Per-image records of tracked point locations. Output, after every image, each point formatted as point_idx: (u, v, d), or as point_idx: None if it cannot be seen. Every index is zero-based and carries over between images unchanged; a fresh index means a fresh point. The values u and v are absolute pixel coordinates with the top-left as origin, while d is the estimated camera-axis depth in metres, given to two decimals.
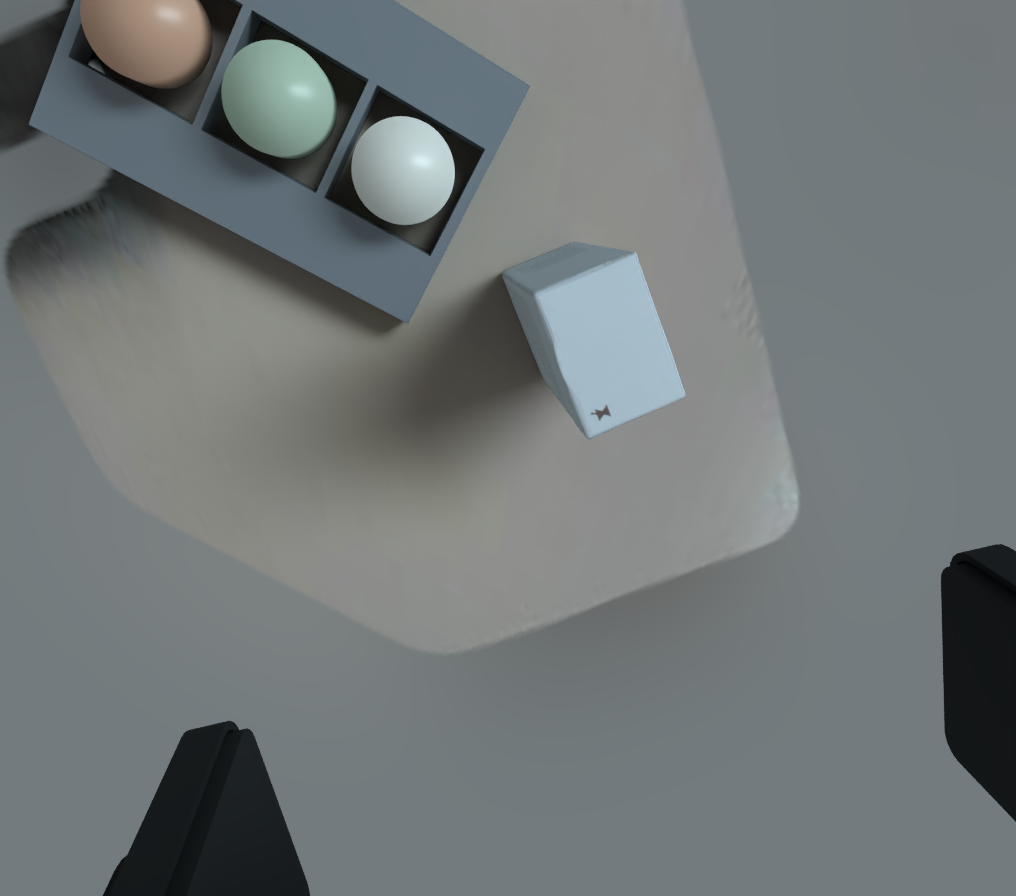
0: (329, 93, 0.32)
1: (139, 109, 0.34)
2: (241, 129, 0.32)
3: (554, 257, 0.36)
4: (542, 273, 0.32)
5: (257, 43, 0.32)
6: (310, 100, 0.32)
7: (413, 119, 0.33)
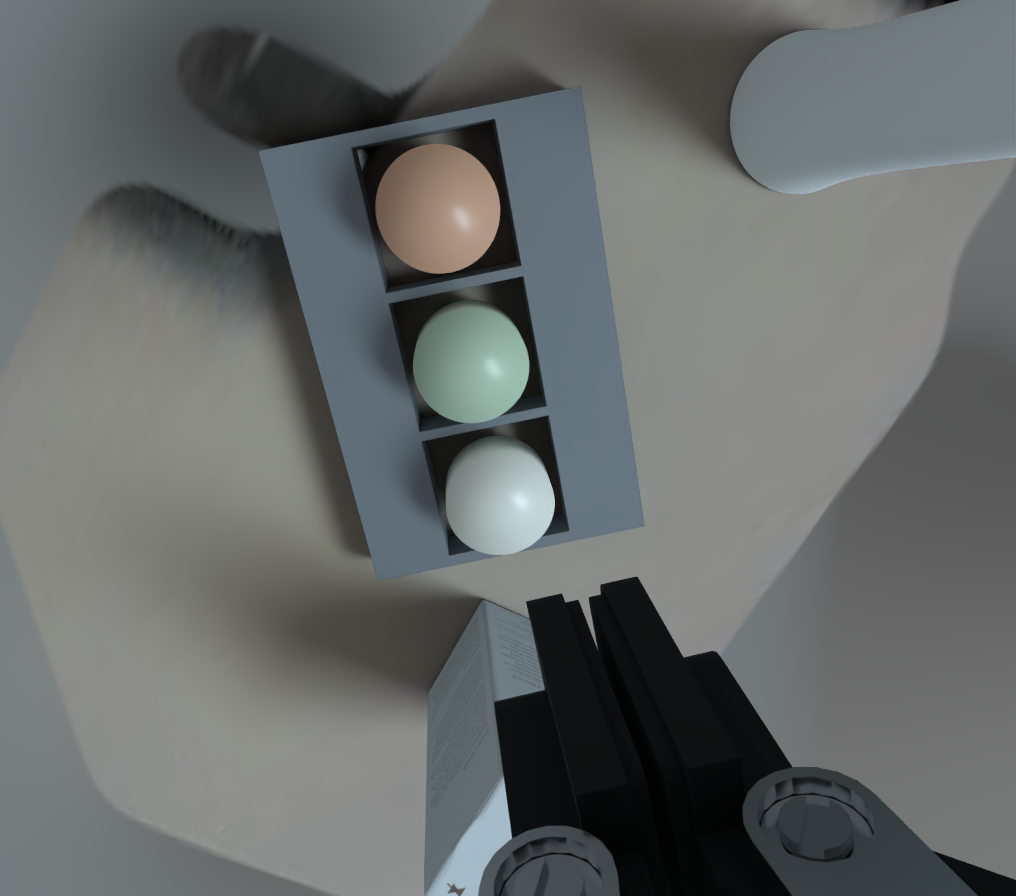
0: (512, 404, 0.30)
1: (359, 239, 0.30)
2: (420, 357, 0.29)
3: (533, 657, 0.34)
4: None
5: (503, 320, 0.29)
6: (493, 394, 0.30)
7: (548, 482, 0.31)
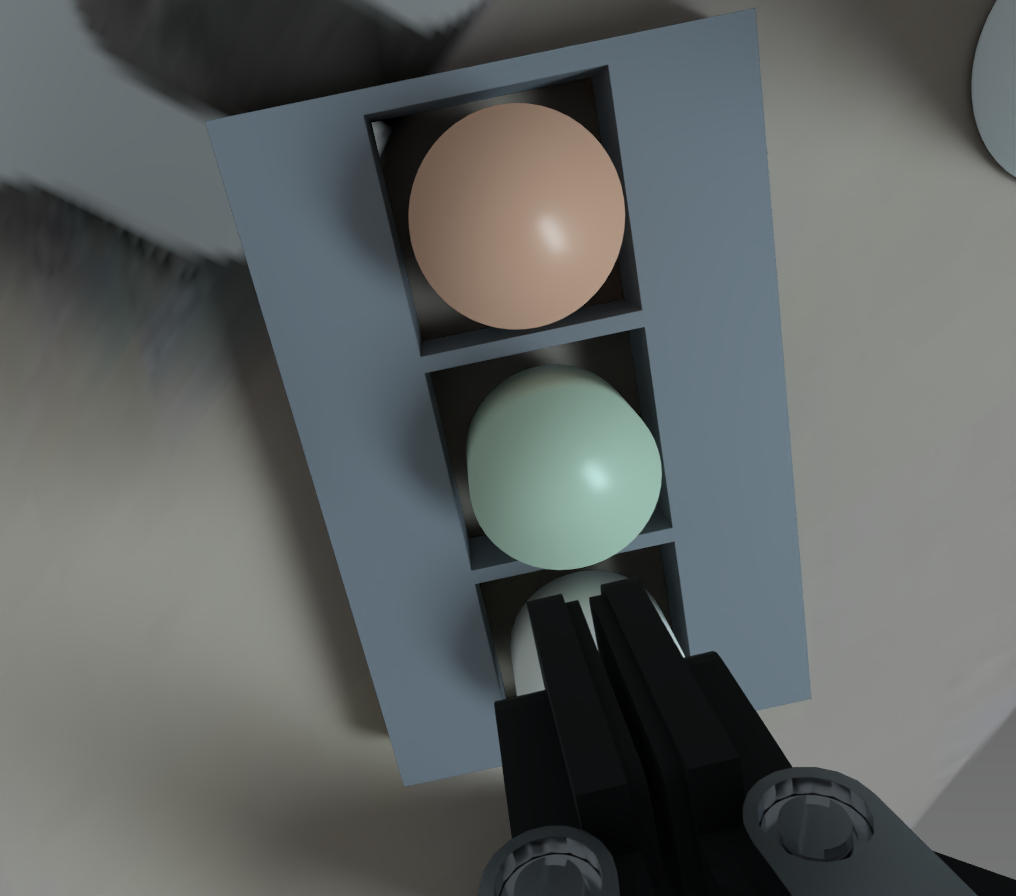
0: (630, 539, 0.18)
1: (377, 270, 0.18)
2: (482, 468, 0.17)
3: None
4: None
5: (621, 406, 0.17)
6: (600, 524, 0.18)
7: None
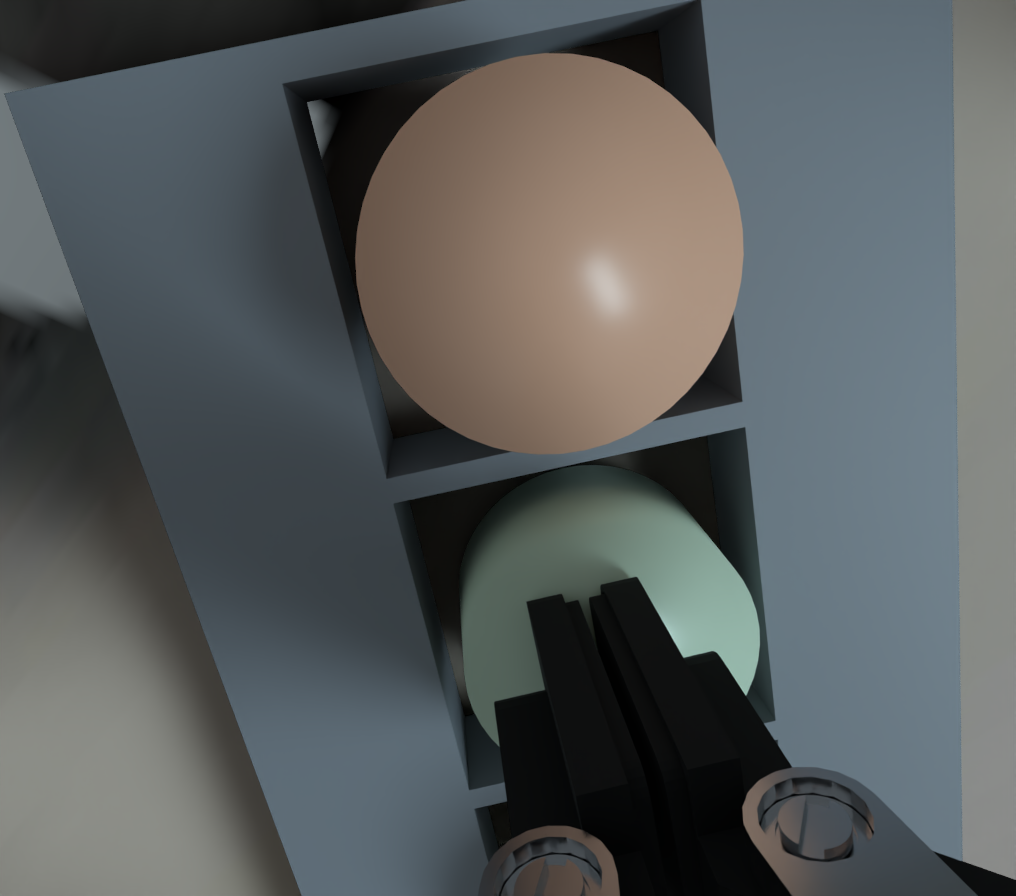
0: None
1: (313, 343, 0.11)
2: (485, 642, 0.11)
3: None
4: None
5: (702, 546, 0.11)
6: None
7: None
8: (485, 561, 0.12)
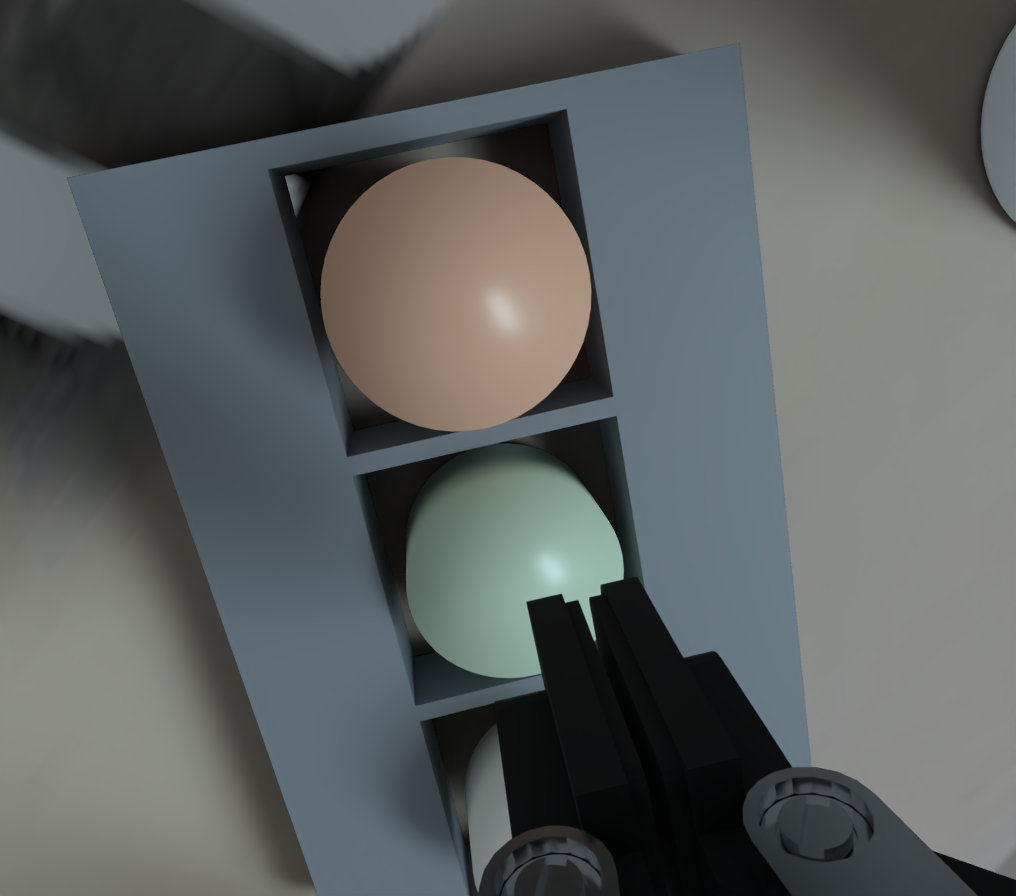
0: None
1: (291, 355, 0.15)
2: (421, 568, 0.15)
3: None
4: None
5: (577, 495, 0.15)
6: None
7: None
8: (422, 512, 0.16)
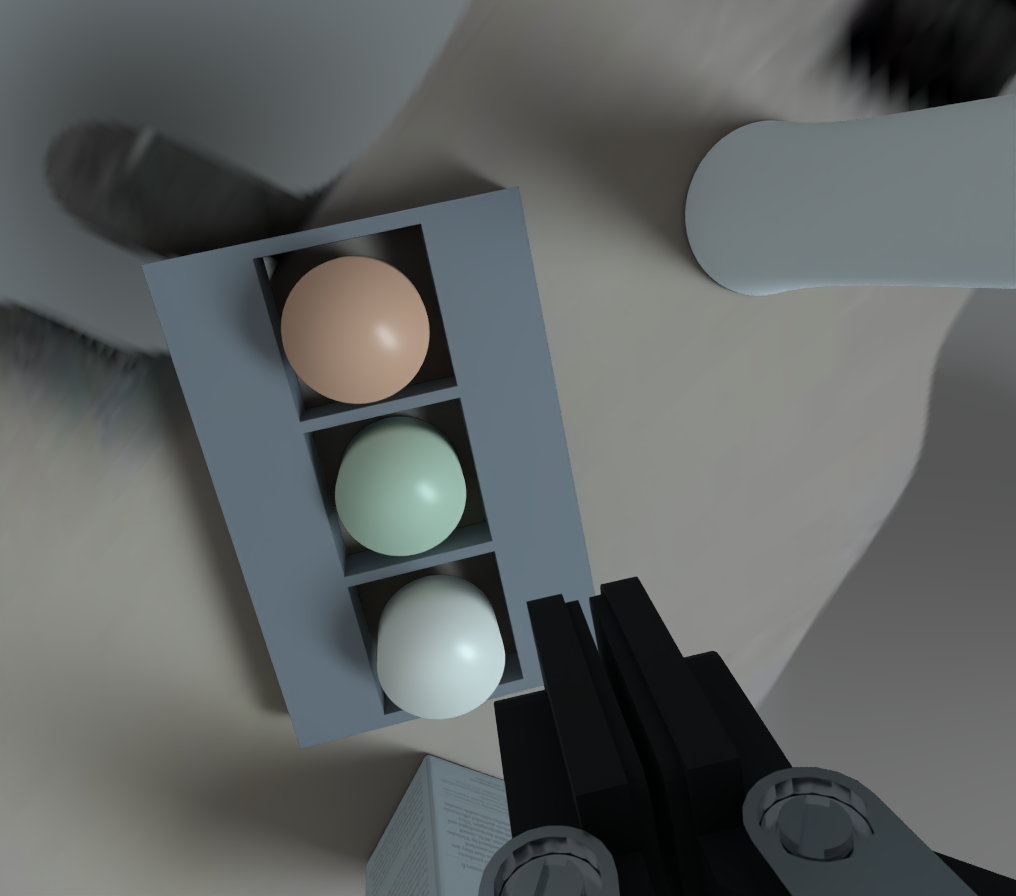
0: (448, 533, 0.27)
1: (266, 362, 0.25)
2: (343, 487, 0.26)
3: (486, 830, 0.29)
4: None
5: (435, 443, 0.26)
6: (427, 523, 0.27)
7: (496, 634, 0.27)
8: (346, 456, 0.27)
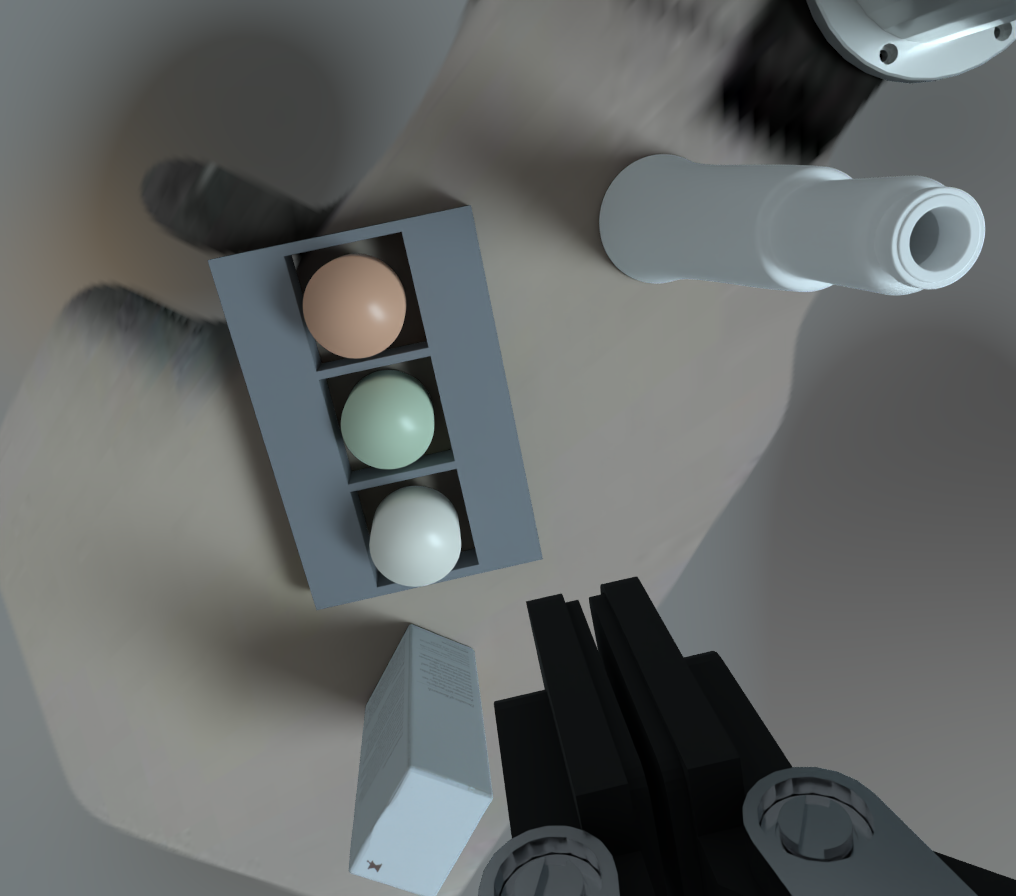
0: (422, 454, 0.38)
1: (293, 329, 0.36)
2: (346, 418, 0.37)
3: (450, 673, 0.40)
4: (430, 709, 0.37)
5: (411, 388, 0.37)
6: (406, 446, 0.38)
7: (454, 525, 0.38)
8: (349, 396, 0.37)
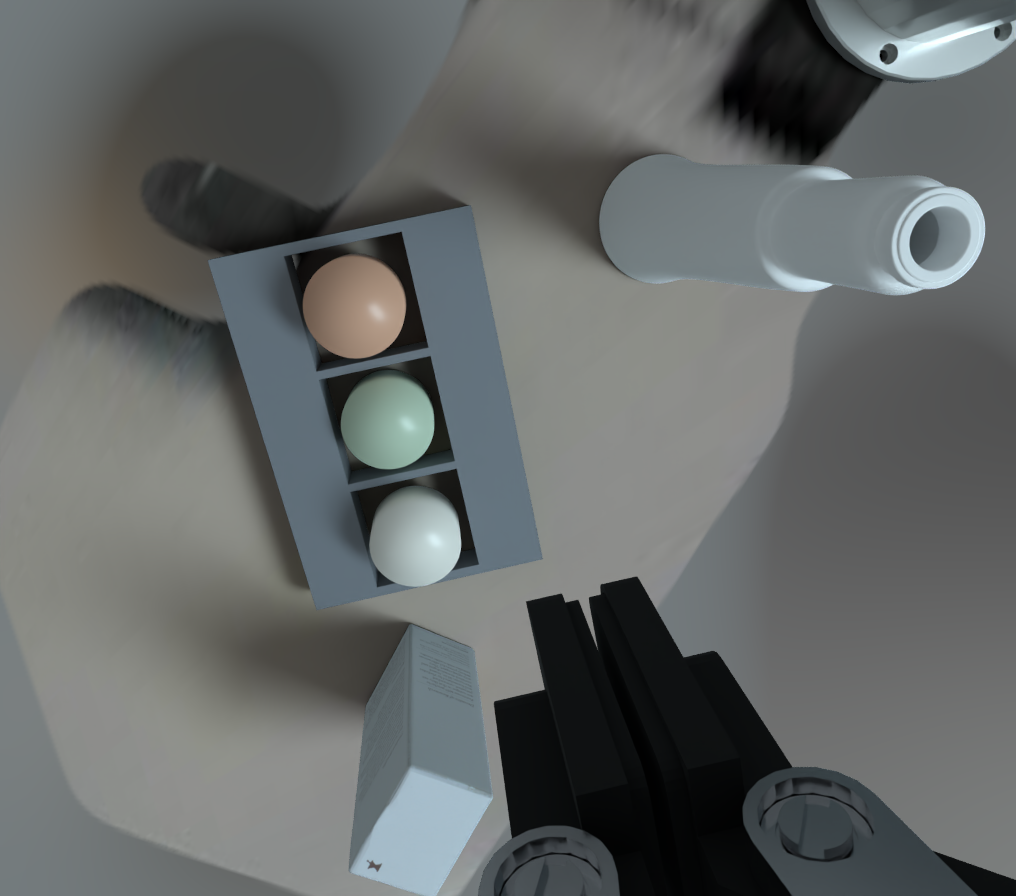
0: (422, 454, 0.38)
1: (293, 329, 0.36)
2: (346, 418, 0.37)
3: (450, 672, 0.40)
4: (430, 709, 0.37)
5: (411, 388, 0.37)
6: (406, 446, 0.38)
7: (454, 525, 0.38)
8: (349, 396, 0.37)
